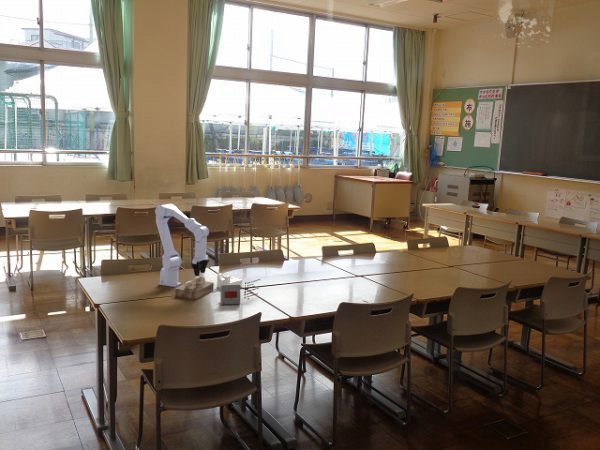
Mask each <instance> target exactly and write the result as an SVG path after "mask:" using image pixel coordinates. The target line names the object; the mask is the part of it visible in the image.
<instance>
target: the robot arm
mask: <svg viewBox="0 0 600 450" xmlns="http://www.w3.org/2000/svg"><path fill="white" fill-rule="evenodd" d="M154 213H155V223H156V226H157V230H158V234H159V237H160V241H161V245H162V248H163V254H162V256H161V258H162V261H161V262H162V266H163V267H162V268H161V269H160V273H159V283H158V285H160V286H166V287H173V288H174V287H178V286H179V285H182V282H179V277H180V276H179V274H180V273H179V269H180V266H181V265H182V263H183V261H182V258H181V256H180V255H179V252H178V251H176V250H175V247H174V244H173V239H172V236H171V231H170V228H169V225H168V222H169V219H171V218H172V217H174V218H175V219H177V220H179V221H180V222H181V223H183V224H184V227H185V228H186V229H188V230H189V231H190V232H192V234H193V237H194V240H195V244H194V245H195V247H194V248H195V250H194V258H193V259H192V261H191V262H190V265H191V267H192V269H193V274H194V276H195V277H198V276H199V277H200V274H205V272H206V270H207V267H208V263H210V260H209V254H207V243H208V242H207V240H208V238H207V237H208V236H209V235H210V230H209V228H208V227H207V226H206V225H203V224H201V223H199V222H198V221H196V219H195V218H192V217H190V218H189V217H187V216H186V215H185V214H184V213H183V212H182V211H181V210H179V209H178V207H177V206H176V205H174V204H173V203H167V204H159V205H158V206H156V208H155V209H154Z"/></svg>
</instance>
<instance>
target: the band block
mask: <svg viewBox="0 0 600 450" xmlns="http://www.w3.org/2000/svg"><path fill="white" fill-rule="evenodd" d="M190 281H194V279H192V280H190ZM185 285H186V283H183V284H181V285H180V286H177V287H176V288H175V289H174V290H175V291H174V293H175V294H174V295H175V297H178V298H185V299H189V300H199V299H200V298H202V297H203V296H205V295H207V294H208V293H210V292H212V291H214V286H215V285H214V282H212V281H206V280H205V282H204V284H202V285H199V284H196V288H195V289H193V290H192V289H186V288H185Z"/></svg>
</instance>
